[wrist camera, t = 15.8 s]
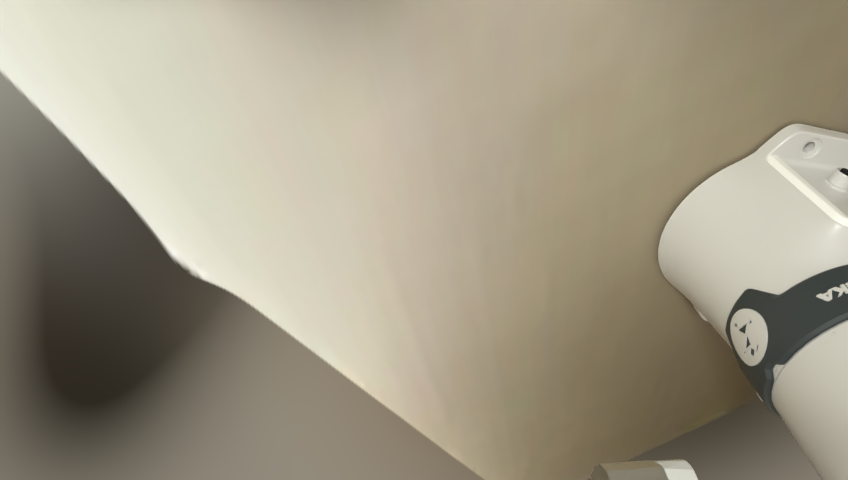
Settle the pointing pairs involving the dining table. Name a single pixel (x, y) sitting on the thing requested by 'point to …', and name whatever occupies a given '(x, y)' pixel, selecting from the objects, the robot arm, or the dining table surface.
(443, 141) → the dining table surface
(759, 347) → the robot arm
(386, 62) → the dining table surface
